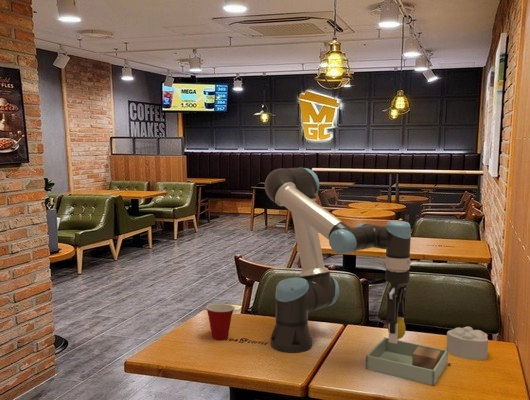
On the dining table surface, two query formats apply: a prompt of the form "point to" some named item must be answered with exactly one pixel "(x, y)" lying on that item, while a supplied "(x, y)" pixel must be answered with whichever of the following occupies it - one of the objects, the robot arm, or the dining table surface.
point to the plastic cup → (220, 320)
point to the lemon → (400, 327)
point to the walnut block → (425, 357)
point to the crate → (403, 361)
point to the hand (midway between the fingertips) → (396, 339)
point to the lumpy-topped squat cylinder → (467, 343)
